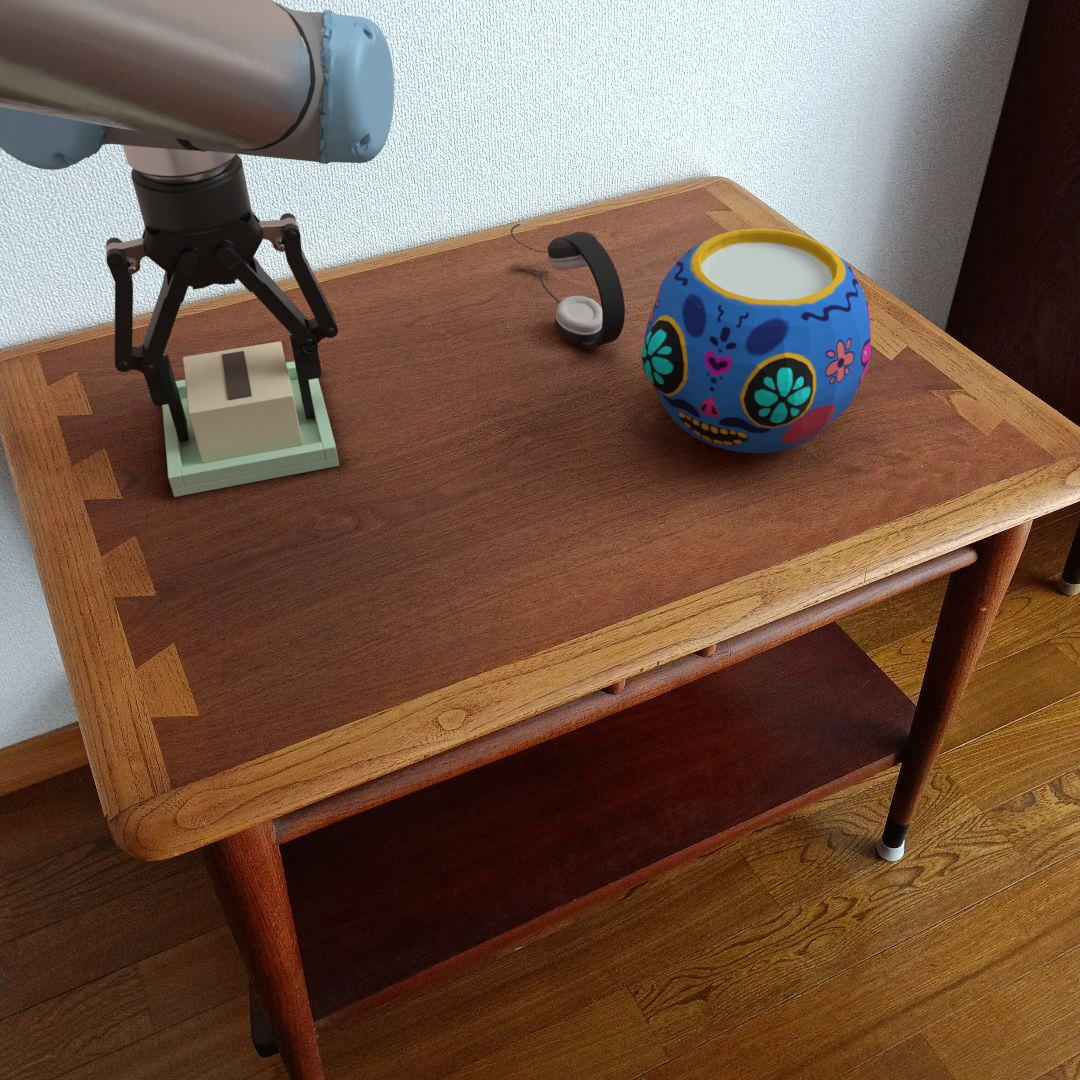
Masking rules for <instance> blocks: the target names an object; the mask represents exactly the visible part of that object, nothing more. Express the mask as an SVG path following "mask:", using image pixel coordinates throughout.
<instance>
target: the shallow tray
mask: <svg viewBox="0 0 1080 1080" xmlns="http://www.w3.org/2000/svg"><path fill="white" fill-rule="evenodd" d="M286 366H287V370H288V375H289V379H290V384H291V388H292V393H293V397H294V403H295V408H296V413H297V418H298V423H299V428H300V433H301V438H302V443H303V445H300V446H295V447H289V448H284V449H278V450H273V451H267V452H262V453H256V454H251V455H245V456H240V457H234V458H229V459H223V460H218V461H212V462H207V463H203V462H202V459H201V456H200V452H199V448H198V445H197V441H196V438H195V434H194V431H193V427H192V424H191V420H190V417H189V412H188V402H187V393H186V383H185V379H181V380H175V381H176V385H177V388H178V392H179V395H180V399H181V403H182V406H183V410H184V413H185V417H186V420H187V428H188V437H189V441H184V442H179V439H178V436H177V433H176V429H175V426H174V422H173V419H172V416H171V412H170V409H169V405H168V404H166V405H161V406H162V419H163V432H164V444H165V454H166V465H167V466H166V467H167V468H166V469H167V478H168V482H169V484H170V488H171V492H172V495H173V497H174V498H177V497H182V496H186V495H187V496H188V495H192V494H197V493H204V492H208V491H209V492H210V491H213V490H218V489H219V490H220V489H225V488H229V487H235V486H241V485H245V484H251V483H255V482H261V481H267V480H272V479H278V478H282V477H283V478H284V477H288V476H292V475H298V474H303V473H309V472H313V471H320V470H325V469H331V468H336V467H339V466H340V461H339V458H338V457H339V456H338V450H337V446H336V442H335V437H334V434H333V430H332V427H331V423H330V419H329V415H328V411H327V406H326V404H325V400H324V395H323V392H322V388H321V385H320V381H319V378H316V379H311V380H309V385H310V391H311V396H312V402H313V407H314V413H315V418H313V419H307V420H306V416H305V412H304V407H303V403H302V398H301V393H300V388H299V383H298V377H297V372H296V367H295V361H294V360H292V361H288V362H286Z"/></svg>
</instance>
